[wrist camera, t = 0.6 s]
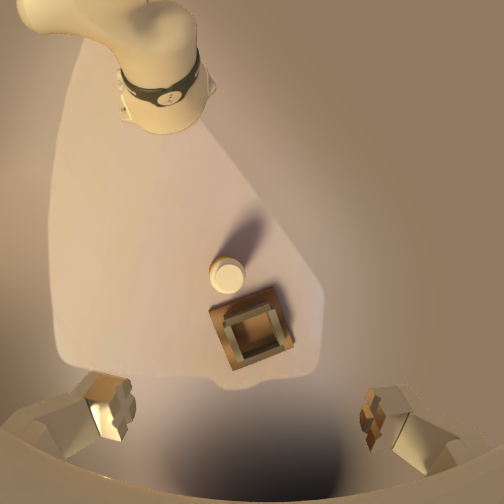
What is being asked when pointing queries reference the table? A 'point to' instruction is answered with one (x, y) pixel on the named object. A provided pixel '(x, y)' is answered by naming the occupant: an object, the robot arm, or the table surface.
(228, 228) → the table surface
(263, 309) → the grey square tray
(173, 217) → the table surface
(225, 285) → the supplement bottle
